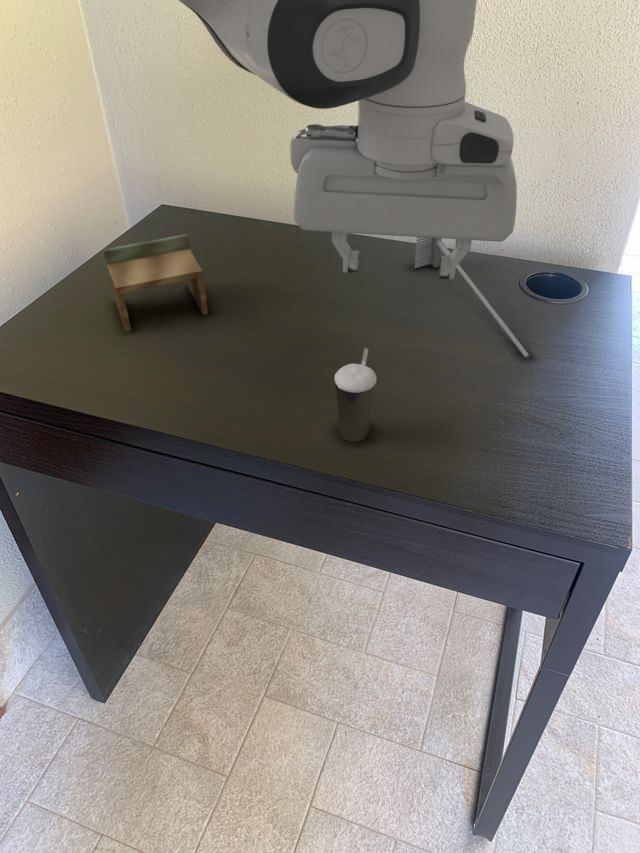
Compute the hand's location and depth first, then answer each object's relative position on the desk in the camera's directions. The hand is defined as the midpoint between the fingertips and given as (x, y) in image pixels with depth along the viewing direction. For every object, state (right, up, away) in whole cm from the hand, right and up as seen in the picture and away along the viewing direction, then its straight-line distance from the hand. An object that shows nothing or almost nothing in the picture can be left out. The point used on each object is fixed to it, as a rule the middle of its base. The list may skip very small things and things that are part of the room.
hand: (398, 273), depth 68 cm
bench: (-31, +2, +33) cm, 46 cm away
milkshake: (-4, -16, +13) cm, 20 cm away
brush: (+14, +3, +33) cm, 36 cm away
